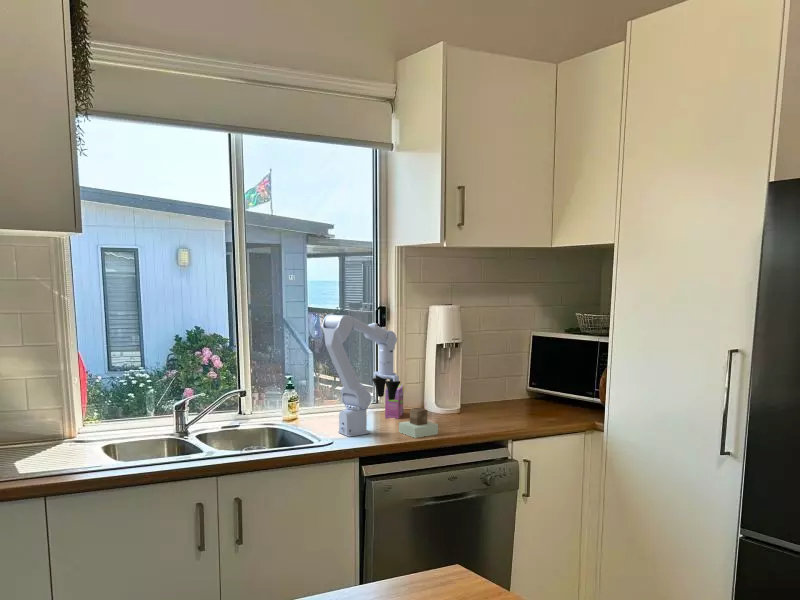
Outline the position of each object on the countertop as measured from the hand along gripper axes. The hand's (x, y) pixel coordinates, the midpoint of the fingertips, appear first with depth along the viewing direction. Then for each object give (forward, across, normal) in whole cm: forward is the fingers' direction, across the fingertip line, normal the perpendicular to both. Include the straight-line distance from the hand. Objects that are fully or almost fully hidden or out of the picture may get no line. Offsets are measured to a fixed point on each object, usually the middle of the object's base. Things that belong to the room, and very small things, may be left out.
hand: (386, 398), depth 226 cm
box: (+11, +12, -12) cm, 20 cm away
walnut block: (+7, -17, -3) cm, 18 cm away
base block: (+10, -17, -3) cm, 20 cm away
